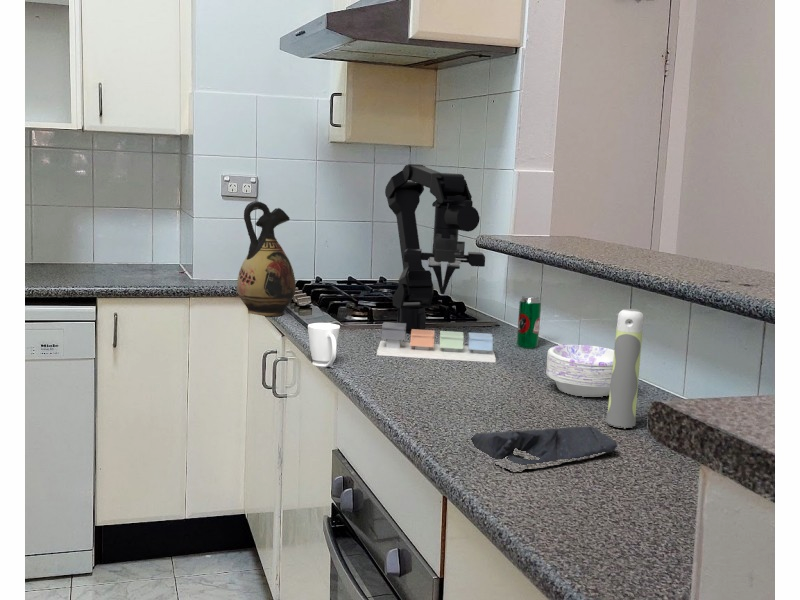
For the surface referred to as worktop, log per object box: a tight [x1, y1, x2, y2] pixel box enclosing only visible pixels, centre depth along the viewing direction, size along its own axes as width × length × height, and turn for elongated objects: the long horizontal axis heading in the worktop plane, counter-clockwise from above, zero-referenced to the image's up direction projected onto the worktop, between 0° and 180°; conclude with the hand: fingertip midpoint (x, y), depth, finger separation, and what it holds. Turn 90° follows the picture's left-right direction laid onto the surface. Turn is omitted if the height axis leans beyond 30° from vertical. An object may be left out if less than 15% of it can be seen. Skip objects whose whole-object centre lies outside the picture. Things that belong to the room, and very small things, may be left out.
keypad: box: [376, 339, 497, 363], centre depth 197 cm, size 26×12×4 cm, turn 87°
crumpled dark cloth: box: [471, 425, 618, 465], centre depth 132 cm, size 15×22×5 cm
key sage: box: [439, 330, 465, 349], centre depth 197 cm, size 5×5×3 cm
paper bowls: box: [545, 344, 614, 398], centre depth 169 cm, size 15×15×8 cm
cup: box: [307, 322, 341, 368], centre depth 179 cm, size 7×10×8 cm
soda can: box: [516, 295, 542, 350], centre depth 209 cm, size 5×5×12 cm
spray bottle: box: [605, 308, 645, 427], centre depth 146 cm, size 5×5×20 cm
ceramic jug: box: [236, 200, 297, 317], centre depth 233 cm, size 17×15×30 cm
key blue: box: [467, 332, 494, 351], centre depth 197 cm, size 5×5×3 cm
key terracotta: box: [409, 329, 435, 347], centre depth 197 cm, size 5×5×3 cm
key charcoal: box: [381, 321, 407, 341], centre depth 197 cm, size 5×5×3 cm
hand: (442, 294), depth 206 cm, fingers closed
